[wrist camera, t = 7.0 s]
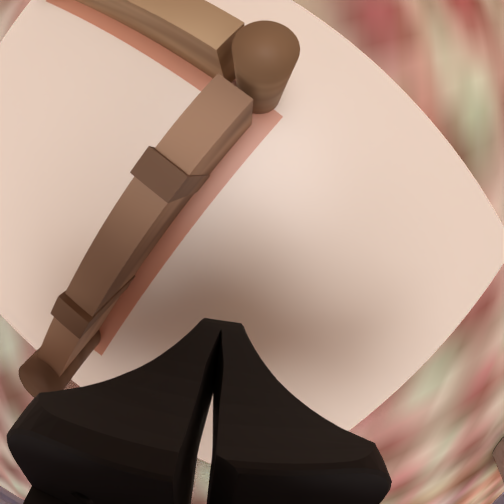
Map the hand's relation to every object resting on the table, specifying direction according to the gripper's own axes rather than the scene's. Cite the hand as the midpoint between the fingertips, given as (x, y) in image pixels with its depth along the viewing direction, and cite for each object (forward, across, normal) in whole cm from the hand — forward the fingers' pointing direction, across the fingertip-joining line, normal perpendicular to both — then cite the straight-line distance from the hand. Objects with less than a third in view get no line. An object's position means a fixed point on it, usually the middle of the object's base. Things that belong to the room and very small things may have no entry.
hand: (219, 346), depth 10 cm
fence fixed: (+1, +5, -11) cm, 12 cm away
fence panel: (+1, +3, -3) cm, 4 cm away
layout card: (+2, +3, -4) cm, 5 cm away
